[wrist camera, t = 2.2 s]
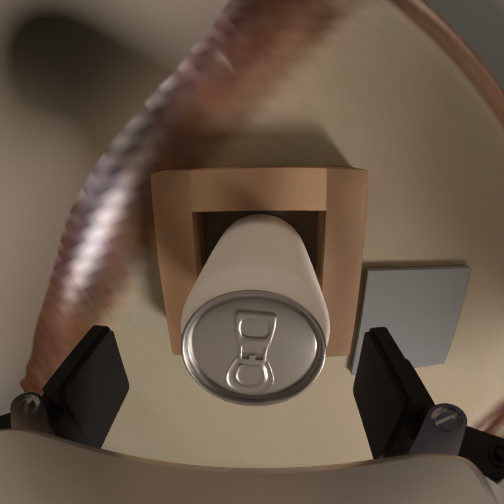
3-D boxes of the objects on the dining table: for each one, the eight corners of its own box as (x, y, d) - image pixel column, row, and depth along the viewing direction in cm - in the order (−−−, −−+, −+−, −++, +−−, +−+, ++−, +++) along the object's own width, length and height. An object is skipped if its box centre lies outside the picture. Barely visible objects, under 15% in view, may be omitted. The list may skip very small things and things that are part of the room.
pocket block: (352, 167, 20) (367, 170, 17) (340, 330, 24) (349, 355, 21) (168, 170, 21) (150, 173, 18) (184, 330, 25) (172, 354, 22)
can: (215, 292, 24) (175, 403, 12) (219, 208, 22) (166, 270, 10) (299, 299, 24) (319, 416, 12) (310, 216, 22) (354, 286, 10)
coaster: (467, 265, 22) (470, 267, 21) (441, 359, 25) (444, 362, 24) (365, 268, 22) (368, 270, 22) (350, 370, 26) (351, 374, 25)
